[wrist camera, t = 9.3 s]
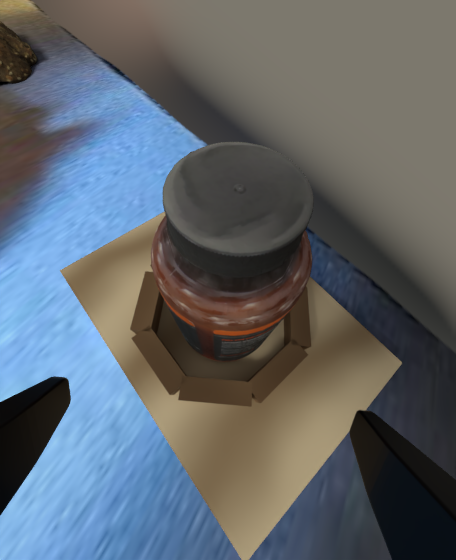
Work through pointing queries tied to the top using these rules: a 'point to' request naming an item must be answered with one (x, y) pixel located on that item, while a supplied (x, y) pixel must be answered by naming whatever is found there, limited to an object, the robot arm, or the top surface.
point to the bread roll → (14, 57)
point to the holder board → (239, 436)
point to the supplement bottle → (232, 246)
